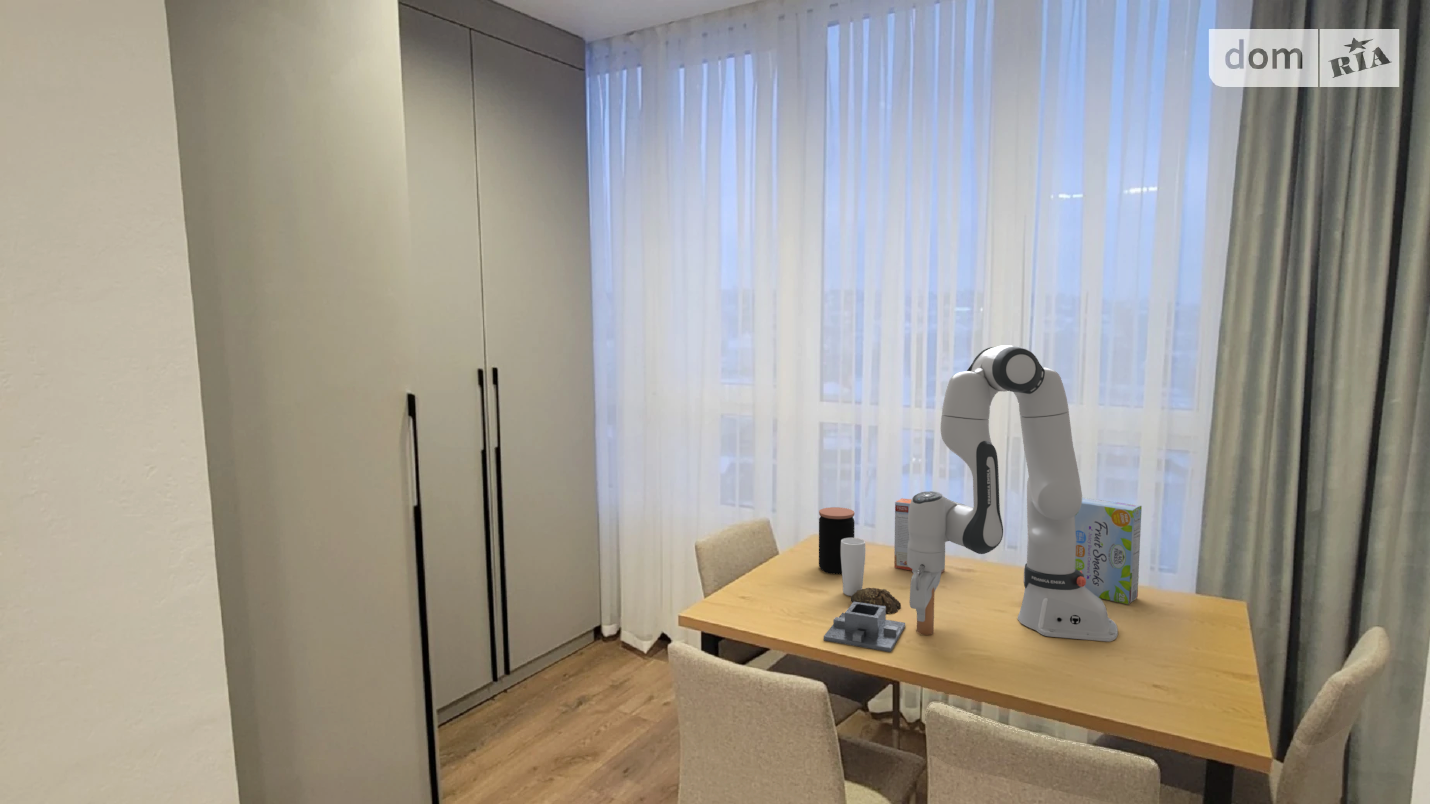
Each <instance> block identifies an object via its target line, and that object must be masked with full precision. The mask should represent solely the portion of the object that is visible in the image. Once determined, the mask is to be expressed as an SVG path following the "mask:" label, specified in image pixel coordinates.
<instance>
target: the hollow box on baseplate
mask: <svg viewBox="0 0 1430 804" xmlns="http://www.w3.org/2000/svg"><path fill="white" fill-rule="evenodd" d="M886 617H887V612H886V606H880V605H873V604H867V603H860V602H853V603H852V602H851V604H850V606H849V607H848V608H847V609H846V610H845V612H842V613H841V614H840V615H839V616H835V617H834V618H833V623H832V625H831V627H830V628H828V629H827V631H826V632H825V634H824V635H823V641H825V642H830V643H836V644H841V645H847V646H854V647H860V648H864V649H868V650H869V649H870V650H877V651H883V652H887V653H891V652H892V651H893V649H894V648H895V646H896V644H897V642H898V641H899V638H900V636H901V635H902V634H903V631H904V630H905V628H906V622H902V621H896V620H889V619H886Z"/></svg>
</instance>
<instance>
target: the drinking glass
mask: <svg viewBox="0 0 1430 804" xmlns="http://www.w3.org/2000/svg"><path fill="white" fill-rule="evenodd" d="M865 564H866V541H865V540H864V539H862V538H858V537H854V538H845V539H842V540H841V567H842V574H841V576H842V580H841V581H842V593H843V594H844V595H845V596H848V597H849V596H850V597H851V596H852V595H853V594H854V593H856V592H857V590H861V589H863V585H864V573H865Z"/></svg>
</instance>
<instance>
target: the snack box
mask: <svg viewBox="0 0 1430 804" xmlns="http://www.w3.org/2000/svg"><path fill="white" fill-rule="evenodd" d="M1142 507H1143V506H1142V505H1139V504H1133V503H1132V504H1131V503H1125V502H1124V503H1123V502H1118V501H1117V502H1116V501H1110V500H1103V499H1095V498H1088V497H1082V504H1081V507H1080V510H1079V511H1078V513H1077V514H1076V515H1075V531H1076V558H1075V569H1077V570H1078V571H1080V570H1081V571H1082V574H1083V575H1084V578H1085V579H1086V585H1084V586H1085V587H1086V588H1087V589H1088V590H1090V591H1091V592H1092V593H1093V594H1095V595H1096V596H1097V597H1098V598H1100V599H1101V600H1107V601H1112V602H1116V603H1121V604H1126V605H1130V604H1131V603H1132V602H1134V601H1135V600H1136V599H1137V598H1138V596H1139V578H1140V576H1139V575H1140V574H1139V571H1140V554H1141V553H1140V552H1141V551H1140V550H1141V549H1140V548H1141V532H1142V531H1141V530H1142Z"/></svg>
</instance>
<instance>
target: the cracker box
mask: <svg viewBox="0 0 1430 804" xmlns="http://www.w3.org/2000/svg"><path fill="white" fill-rule="evenodd" d="M911 500H912V498H903V497H902V498H900V499H898V500H896V501H895V502H894V562H893V563H894V568H895V569H900V570H901V569H902V570H906V571H911V572H912V568H910V567H908V565H907V546H908V542H909V532H908V514H909V507H910V503H911ZM945 571H946V567H945V568H944V569H943V570H941V574H942V573H943V572H945Z"/></svg>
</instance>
